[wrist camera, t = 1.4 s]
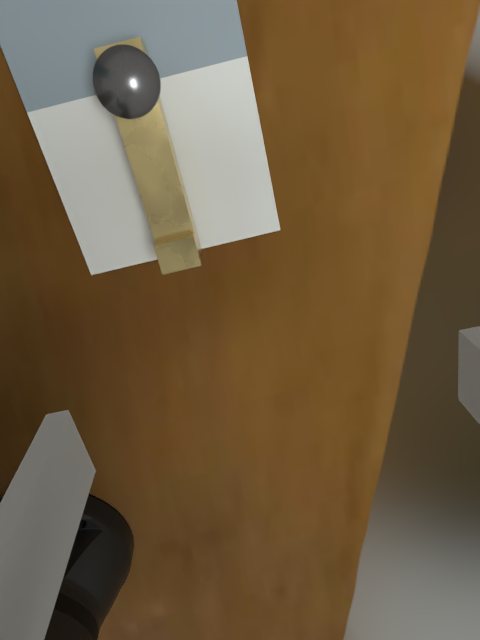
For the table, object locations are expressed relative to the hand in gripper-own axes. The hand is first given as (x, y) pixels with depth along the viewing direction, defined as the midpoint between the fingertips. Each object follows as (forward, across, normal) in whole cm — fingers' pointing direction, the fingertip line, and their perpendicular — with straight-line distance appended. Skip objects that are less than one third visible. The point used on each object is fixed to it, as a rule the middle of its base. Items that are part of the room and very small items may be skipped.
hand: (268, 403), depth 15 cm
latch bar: (+19, -4, +7) cm, 20 cm away
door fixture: (+21, -4, +11) cm, 24 cm away
